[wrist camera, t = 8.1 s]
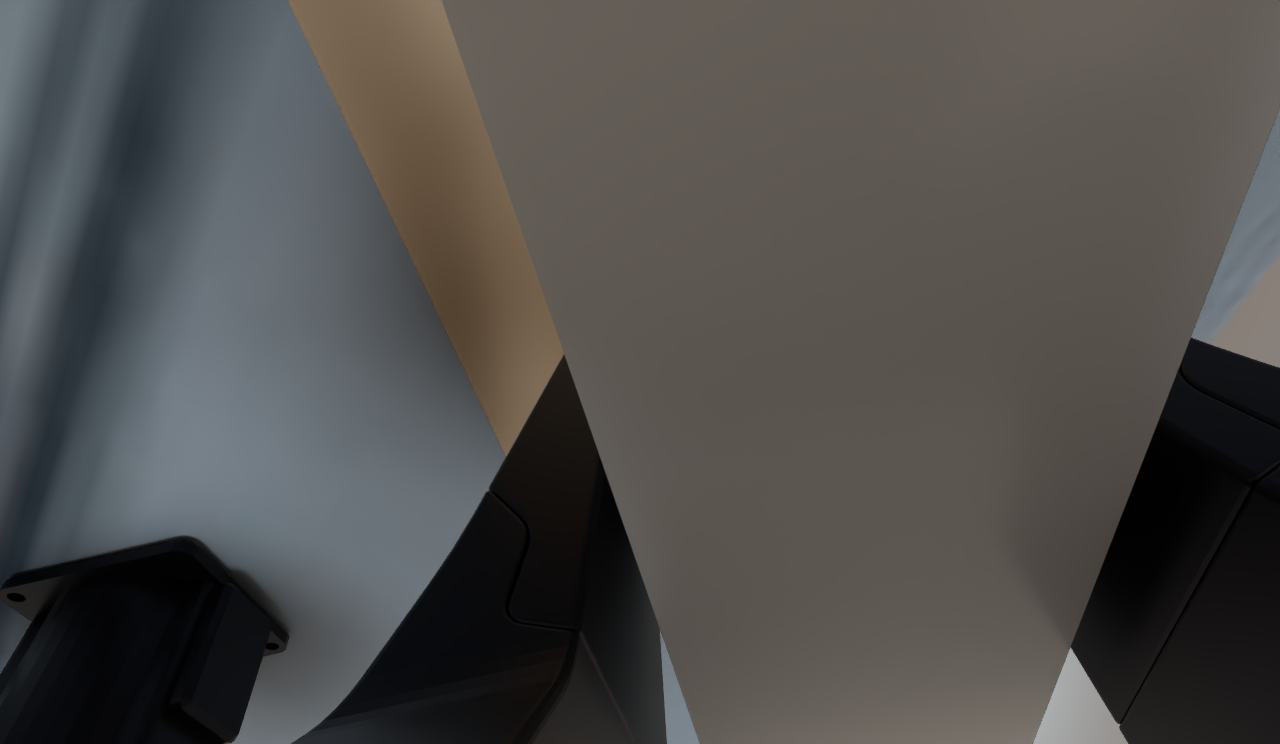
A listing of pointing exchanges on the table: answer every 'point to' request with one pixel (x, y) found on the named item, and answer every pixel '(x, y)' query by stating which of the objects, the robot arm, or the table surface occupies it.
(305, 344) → the table surface
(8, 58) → the table surface
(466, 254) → the wooden tray
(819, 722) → the white rectangular block
